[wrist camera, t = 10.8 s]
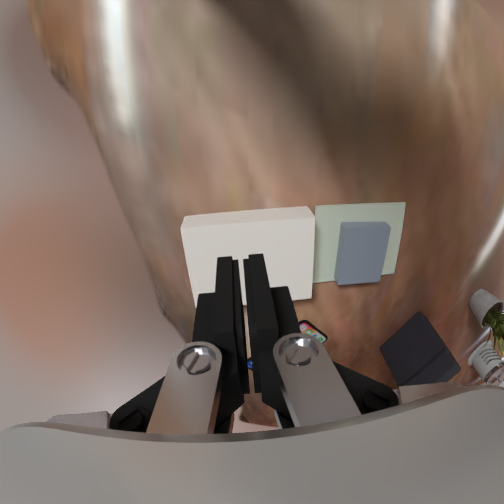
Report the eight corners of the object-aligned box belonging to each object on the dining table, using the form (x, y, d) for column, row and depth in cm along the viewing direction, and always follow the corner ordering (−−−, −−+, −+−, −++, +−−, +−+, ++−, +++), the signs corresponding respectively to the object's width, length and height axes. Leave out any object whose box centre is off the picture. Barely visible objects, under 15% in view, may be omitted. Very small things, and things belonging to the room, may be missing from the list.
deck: (185, 216, 38) (180, 228, 35) (307, 206, 39) (315, 217, 35) (198, 291, 44) (196, 308, 40) (305, 282, 44) (311, 298, 41)
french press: (477, 343, 59) (522, 410, 37) (500, 336, 60) (542, 395, 38) (462, 368, 63) (499, 432, 41) (485, 360, 64) (522, 418, 42)
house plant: (501, 298, 52) (538, 340, 37) (461, 333, 55) (495, 381, 41) (496, 260, 46) (544, 305, 32) (452, 301, 50) (495, 355, 35)
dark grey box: (388, 353, 55) (415, 409, 41) (377, 346, 53) (405, 405, 40) (426, 317, 51) (463, 370, 38) (417, 309, 49) (455, 364, 36)
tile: (391, 227, 38) (384, 221, 40) (345, 228, 38) (340, 222, 39) (379, 281, 42) (374, 274, 44) (337, 285, 42) (333, 277, 44)
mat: (314, 205, 39) (315, 206, 38) (404, 201, 39) (405, 202, 39) (311, 281, 44) (312, 283, 44) (392, 271, 45) (393, 273, 44)
